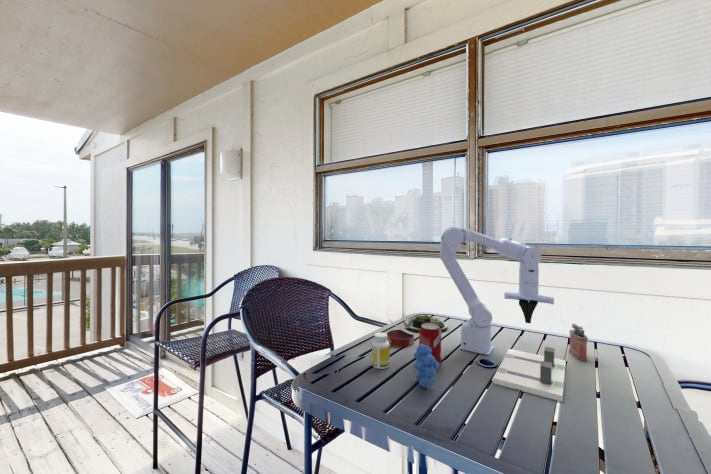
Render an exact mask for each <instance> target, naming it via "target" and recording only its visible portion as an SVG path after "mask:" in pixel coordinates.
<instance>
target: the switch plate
mask: <svg viewBox="0 0 711 474" xmlns="http://www.w3.org/2000/svg"><path fill="white" fill-rule="evenodd" d="M542 361H544V355H540V354H536V353H531V352H525V351H522V350H517V349H511V348H508V349H507V351H506V354H505V355H504V357H503V359H502V361H501V363H500V364H499V366H498V368H497V369H496V372H495V374H494V375H493V376H492V377H493V378H492V383H493V384H494V385H498V386H502V387H506V388H508V389H513V388H514V389H513V390H516V389H519V390H518V391H520V390H521V391H520V392H524V393H528V394H532V395H535V396H539V397H543V398H547V399H550V400H554V401H558V402H561V403H563V401H564V400H563V397H564V388H565V379H566V378H565V377H566V367H567V363H566V362H567V361H566V360H565V359H560V358H557V357H554V367H552V380H551V385H550V384H546V383H542V382H540V366H541V362H542Z"/></svg>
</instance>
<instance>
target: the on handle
mask: <svg viewBox="0 0 711 474" xmlns="http://www.w3.org/2000/svg"><path fill="white" fill-rule="evenodd" d="M555 352H556V351H555V348H554V347H549V346H545V347H544V352H543V356H544V362H549V363H552V367H554V358H555V354H556V353H555Z"/></svg>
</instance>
